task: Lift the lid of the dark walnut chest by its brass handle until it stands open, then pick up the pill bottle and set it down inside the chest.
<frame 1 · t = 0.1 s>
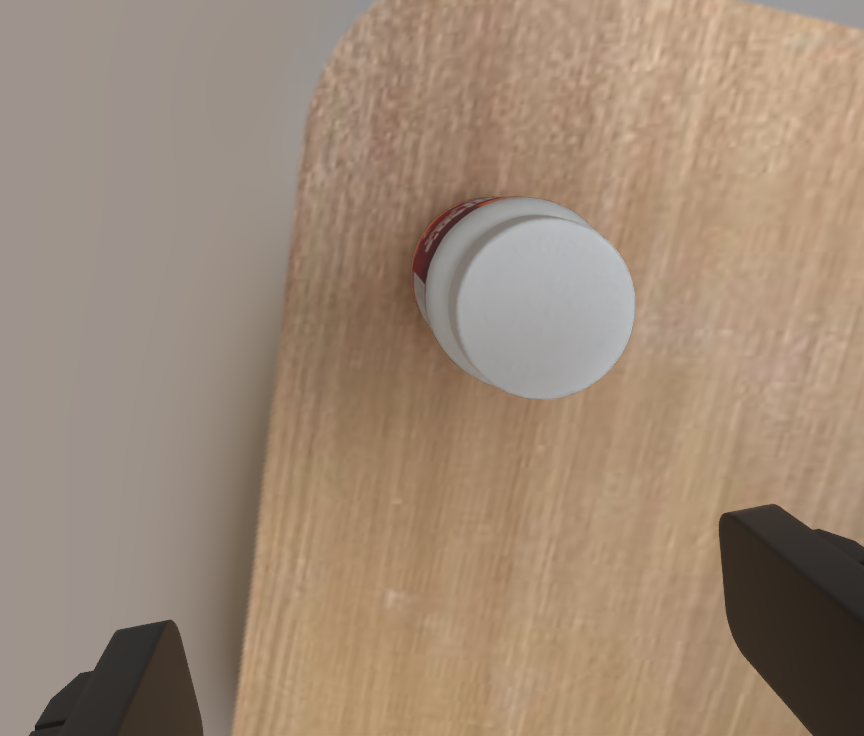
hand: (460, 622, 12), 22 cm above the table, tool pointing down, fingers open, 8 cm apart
pill bottle: (482, 273, 33), on the table
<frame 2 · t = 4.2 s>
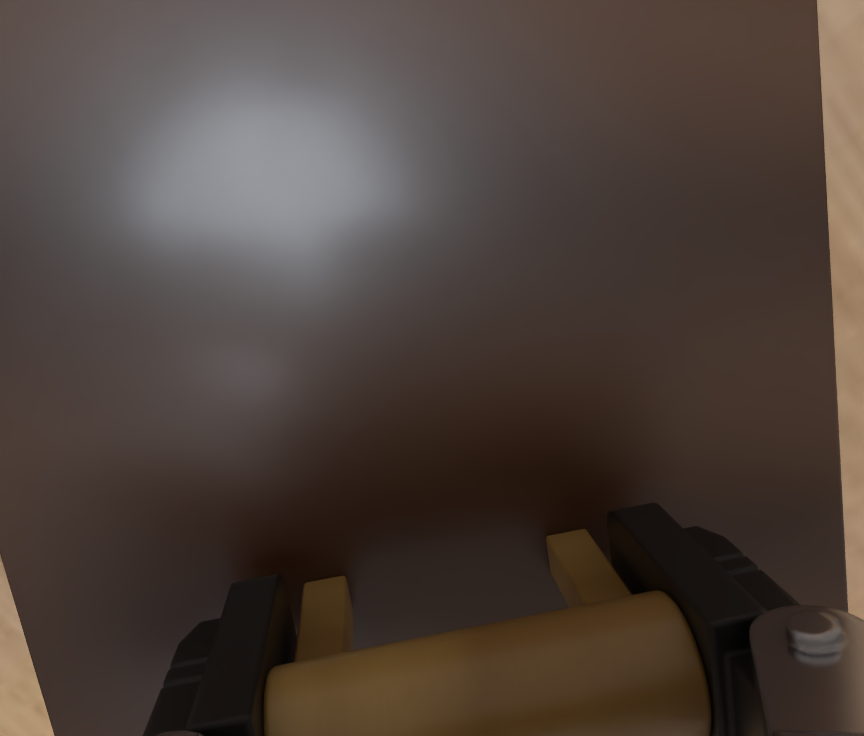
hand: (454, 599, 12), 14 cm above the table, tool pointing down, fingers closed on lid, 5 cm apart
lid: (395, 221, 10), point 15 cm above the table, hinge at -0.1°, touching gripper
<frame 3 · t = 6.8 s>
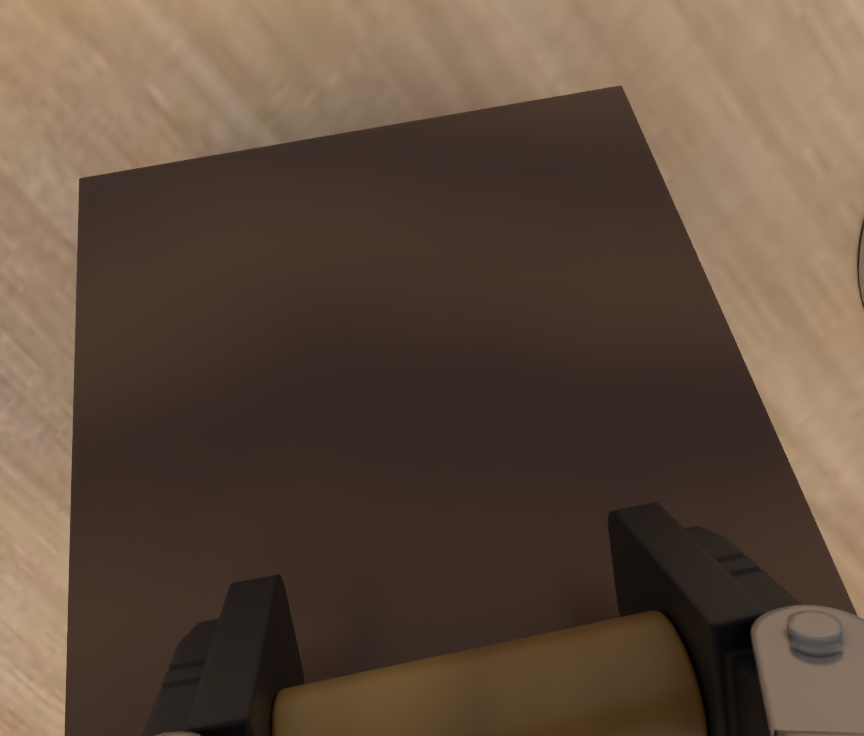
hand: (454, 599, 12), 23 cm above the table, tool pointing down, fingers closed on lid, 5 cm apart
lid: (410, 383, 14), point 20 cm above the table, hinge at 42.7°, touching gripper
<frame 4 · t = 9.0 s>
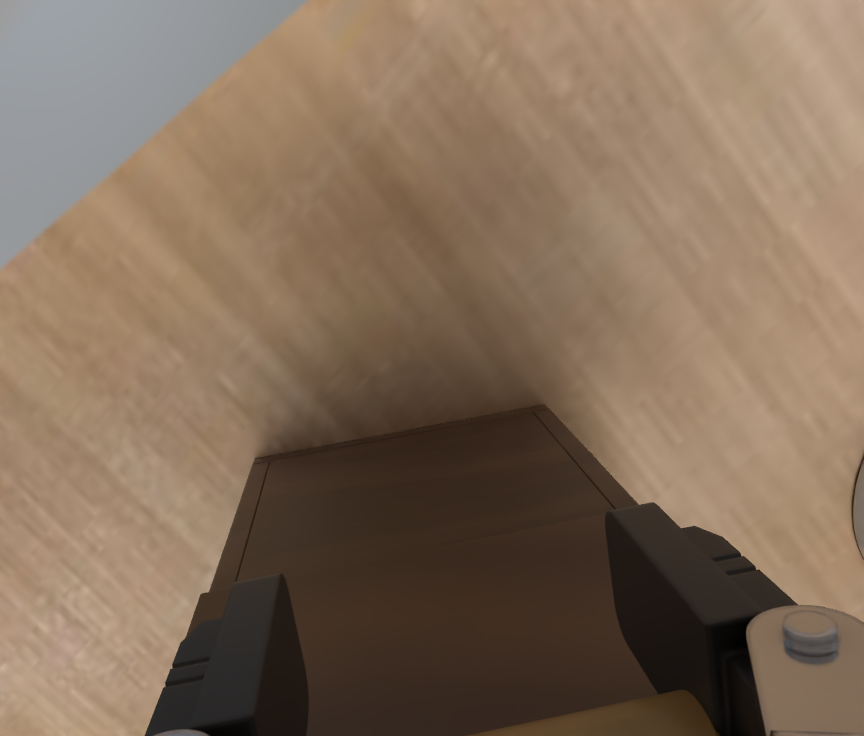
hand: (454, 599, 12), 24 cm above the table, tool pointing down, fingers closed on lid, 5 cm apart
lid: (458, 654, 15), point 21 cm above the table, hinge at 89.1°, touching gripper
chest: (428, 583, 38), on the table
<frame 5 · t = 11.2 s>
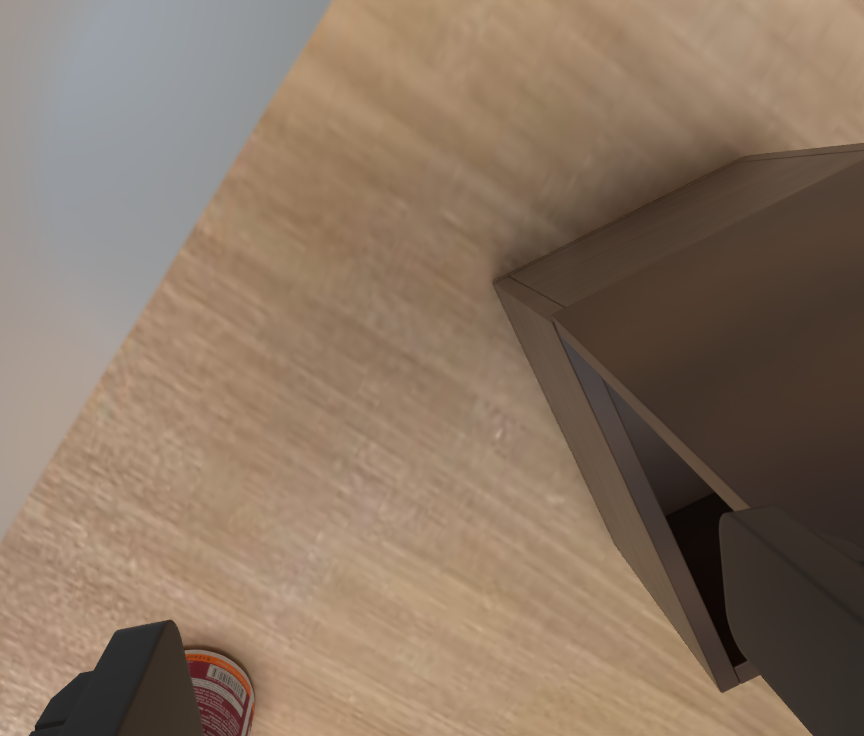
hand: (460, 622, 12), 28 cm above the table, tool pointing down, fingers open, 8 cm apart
pill bottle: (198, 695, 42), on the table
chest: (677, 360, 40), on the table
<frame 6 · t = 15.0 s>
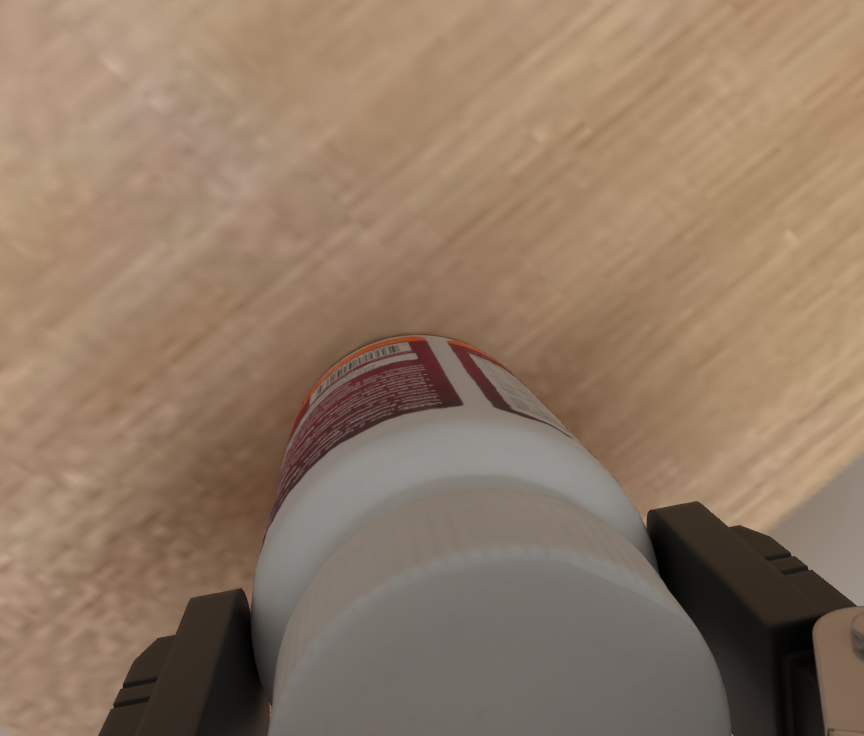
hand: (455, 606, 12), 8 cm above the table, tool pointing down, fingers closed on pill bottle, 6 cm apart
pill bottle: (415, 451, 20), on the table, touching gripper
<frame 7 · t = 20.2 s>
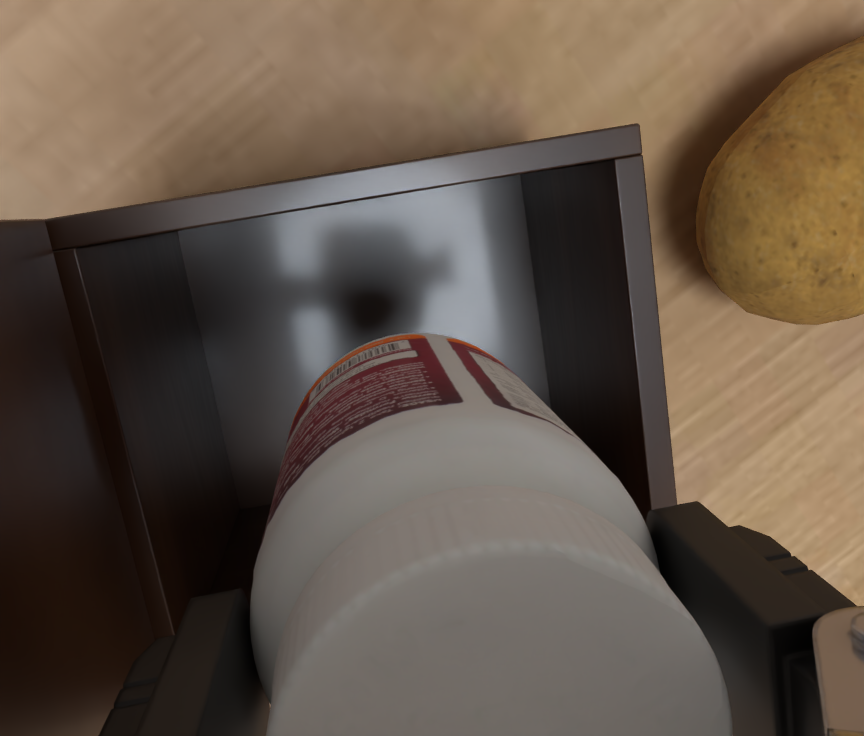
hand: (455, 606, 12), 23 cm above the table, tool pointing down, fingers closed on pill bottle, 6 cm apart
potato: (790, 176, 35), on the table
pill bottle: (415, 449, 20), point 15 cm above the table, touching gripper
chest: (375, 342, 34), on the table
when the fingers open (8 cm above the table, at t = 24.1 s): pill bottle stays where it is, resting on chest.
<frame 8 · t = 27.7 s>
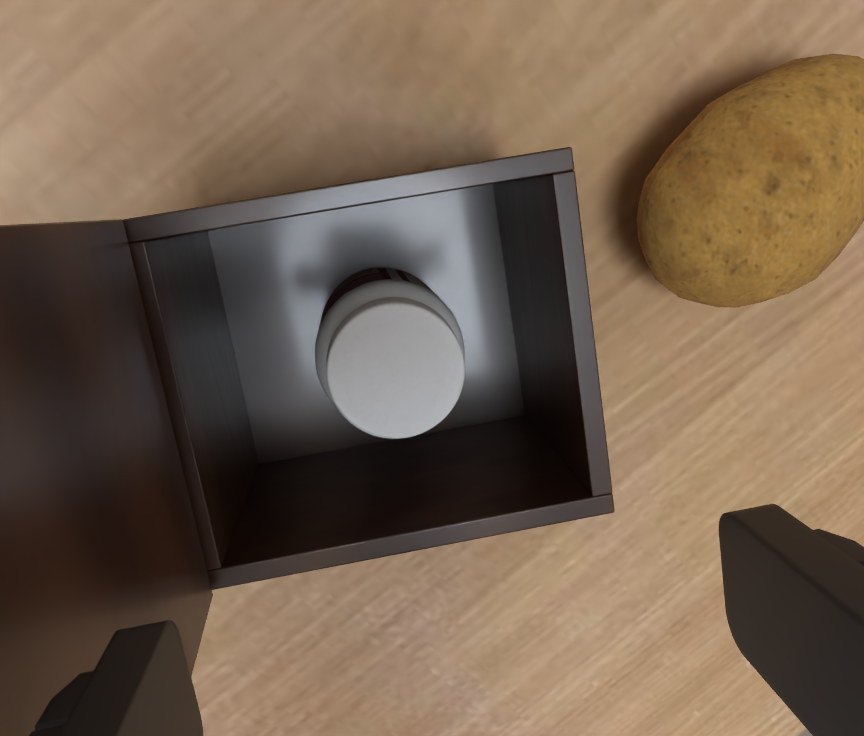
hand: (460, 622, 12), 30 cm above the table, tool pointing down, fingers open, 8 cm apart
potato: (721, 185, 41), on the table
lid: (1, 523, 19), point 22 cm above the table, hinge at 87.4°
pill bottle: (382, 326, 40), point 1 cm above the table, touching chest
chest: (372, 324, 41), on the table
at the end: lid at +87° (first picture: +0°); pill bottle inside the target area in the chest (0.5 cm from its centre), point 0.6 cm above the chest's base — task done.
